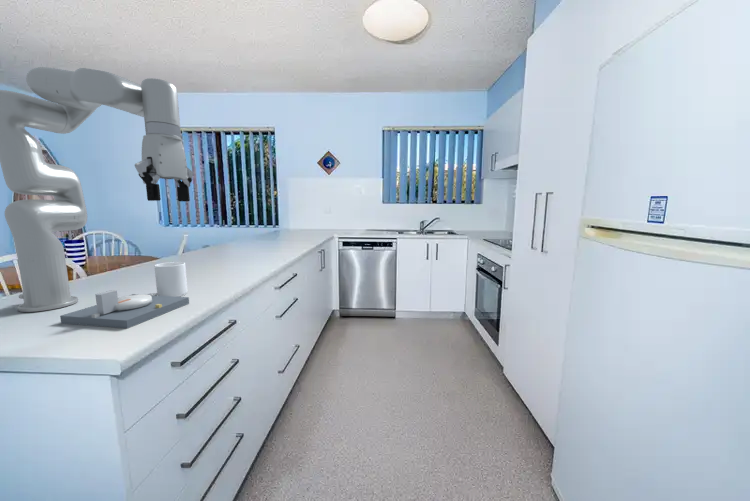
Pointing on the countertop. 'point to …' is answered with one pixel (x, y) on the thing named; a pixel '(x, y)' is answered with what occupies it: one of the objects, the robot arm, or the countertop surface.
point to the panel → (125, 313)
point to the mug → (171, 279)
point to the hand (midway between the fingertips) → (169, 201)
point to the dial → (120, 301)
